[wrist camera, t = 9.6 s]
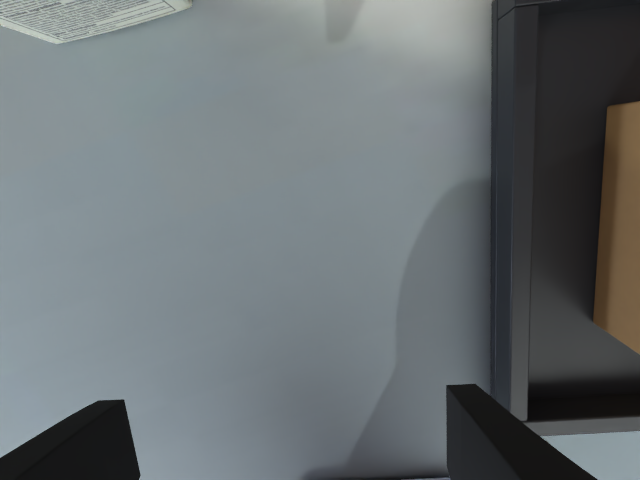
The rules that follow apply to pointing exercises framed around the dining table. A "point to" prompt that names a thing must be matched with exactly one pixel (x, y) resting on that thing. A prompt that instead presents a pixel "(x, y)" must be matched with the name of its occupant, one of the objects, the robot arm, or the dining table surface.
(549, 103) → the tray
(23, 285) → the dining table surface
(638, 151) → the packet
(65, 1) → the cosmetic box
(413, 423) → the dining table surface
